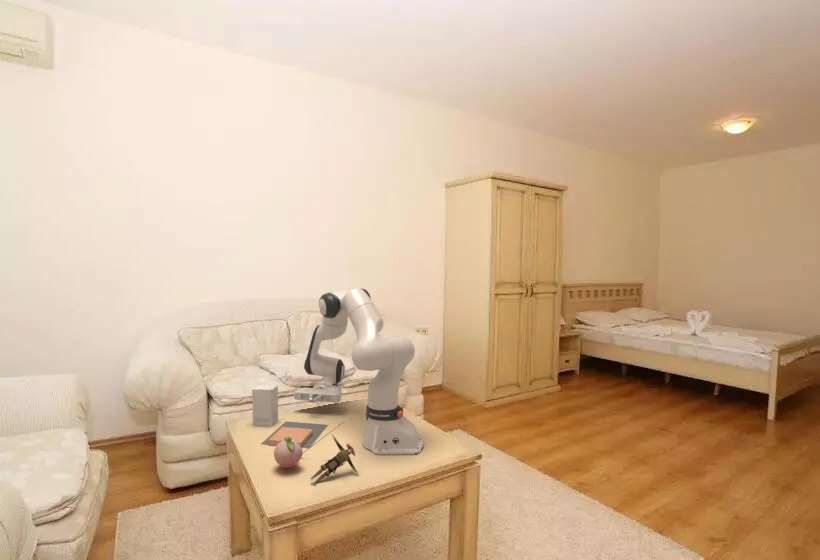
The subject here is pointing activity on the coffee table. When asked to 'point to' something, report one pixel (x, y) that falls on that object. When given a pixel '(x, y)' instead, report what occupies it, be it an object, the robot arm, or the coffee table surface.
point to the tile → (291, 435)
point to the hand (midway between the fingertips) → (312, 400)
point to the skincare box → (265, 405)
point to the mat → (316, 428)
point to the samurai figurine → (335, 460)
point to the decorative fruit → (288, 453)
